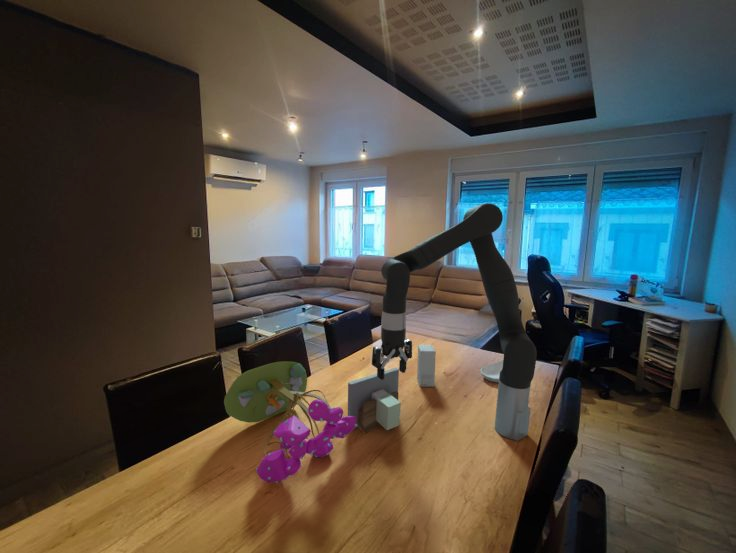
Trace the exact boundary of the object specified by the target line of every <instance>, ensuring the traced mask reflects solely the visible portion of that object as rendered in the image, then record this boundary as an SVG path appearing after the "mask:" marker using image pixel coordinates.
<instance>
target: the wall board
mask: <svg viewBox="0 0 736 553" xmlns="http://www.w3.org/2000/svg"><path fill="white" fill-rule="evenodd" d="M399 372H400V371H399V368H398V367H394V368H391V369H387V370H385V371H384V379H383V380H381V379H380V378H378V376H377V373H375V374H370V375H367V376H365V377H361V378H359V379H355V380H351V381H348V382H347V416H355V417H356V424H357V426H355V427H354V429H356V428H358V409H360V408H362V407H363V403H365V402H368V401H370V400H371V399H372V393H374V392H376V391H379V390H382V389H383V390H384V391H386V392H387V393H388V394H390V393H392V392H395V391H397V392H398V393H399V380H400V379H399V377H400V376H399Z"/></svg>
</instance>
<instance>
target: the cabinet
mask: <svg viewBox="0 0 736 553" xmlns="http://www.w3.org/2000/svg"><path fill="white" fill-rule="evenodd" d="M373 399H375V400H377V406H376V421H377V422H378V423H380V424H381V425H382V427H383V428H384V429H385V430H386V431H389V430H391V429H393V428H396V427H398V426H400V421H401V420H400V418H401V417H400V416H401V408H402V407H401V401H400V400H399V399H398V400H397V399H396V398H394V397H393V396H392V395H390V394H388V393H387V392H386V391H384V390H383V389H382V390H379V391H376V392H374V393H372V399H371V400H373Z"/></svg>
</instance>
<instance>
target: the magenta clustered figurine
mask: <svg viewBox="0 0 736 553" xmlns="http://www.w3.org/2000/svg"><path fill="white" fill-rule="evenodd" d="M307 375H308V374H307V372H306V368H305V367H304V366H303V365H302V364H301V363H299V362H296V361H286V360H285V361H283V360H282V361H276V362H271V363H268V364H264V365H261V366H257V367H255V368H252V369H249V370H246V371H244V372H243V373H240V375H239V376H237V377H236V379H235V380H234V381H233V382H232V384H231V385H230V387H229V388H228V390H227V392H226V394H225V396H224V400H223V404H224V407H225V408H224V409H225V411H226V414H227V416H230V417H232V418H233V419H235V420H238V421H239V422H244V423H250V424H251V423H260V422H262V421H265V420H267V419H269V418H272V417H274V416H277V415H280V414H282V413H284V415H283V417H282V418H281V419H280V421H279V422H278V424H277V425H276V426H275V428H274V429H273V430H272V431H271V433H270V435H269V436H268V438H267V440H266V442H265V445H264V449H263V450H264V451H263V454H264V456H263V458H262V459H261V461H260V463H259V465H258V467H256V468H255V472H256V473H257V475H258V477H259V478H260V479H261V480H262V481H264V482H265V483H272V482H275V483H276V484H278V483H279V482H280V481H285V480H286V479H288V478H289V476H294V475H296V474H297V472H298V471H299V470H300V468H301V467H302V465H301V464H302V462H301V460H303V458H304V457H305V455H306V454H308V455H310V456H314V457H315V458H324V457H325V456H328V455H329V454H331V453H332V451H333V449H334V445H333V441H332V440H333V439H335V438H338V439H344V438H346V437H347V436H348V435H349V434H350V433H351V432H352V431H354V430H355V428H354V427H355V426H357V424H356V417H355V416H348V415H346V416H345V415H344V411H343V410H344V409H343V408H341V407H340V406H339V407H332V408H331V405H330V404H329V403H328V400H327V398H326V396H325V394H324V392H323V391H321V390H320V389H313V390H307V388H311V387H309V386H307V384H308V376H307ZM312 392H313V393H312ZM314 392H320V393H321V394H322V395H323V396H322V397H321V396H320V395H317V394H314ZM304 397H310V398H314V400H311V402H310V403H309V402H308V400H306V399H305V398H304ZM323 397H324V398H323ZM303 401H304V402H305V403H304V402H303ZM306 404H307V405H308V406H307V405H306ZM297 405H298V406H299V408H300V409H301V410H302V412H303V414H304V415H305V416H306V418H307V420H308V423H309V425H310V428H309V427H308V426H307V425H306V424H304V423H303V421H301V420H300V419H299V418H298V417H297V416H296V415H293V412H294V409H295V407H296V406H297ZM317 422H326V423H325V424H324V426H323V429H322V431H321V432H320V430H319V427H318V424H317ZM313 425H314V427H315V429H316V432H317V435H316V436H315V433H314V429H313ZM311 433H312V437H310V438H309V436H310V434H311ZM272 437H275V438H276V439H278V440H279V441H273V442H270V441H271V439H272ZM308 438H309V439H308ZM272 444H279V446H280V449H278V450H275V451H272V452H269V453H268V454H267V447H268V446H269V445H272ZM287 450H288V452H287ZM285 452H286V455H287V457H288V458H286V455H285ZM288 453H289V454H290V456H291V458H290V457H289V454H288Z"/></svg>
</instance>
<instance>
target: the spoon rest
mask: <svg viewBox="0 0 736 553" xmlns="http://www.w3.org/2000/svg"><path fill="white" fill-rule="evenodd" d="M502 367H503V359H502V360H499V361H496V362H493V363H489V364H487V365H483V366H482V367H481V368H480V373H481V376H482V377H483V378H484V379H486V380H487V381H489V382H492V383H499V376H500V371H501V370H502Z"/></svg>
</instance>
